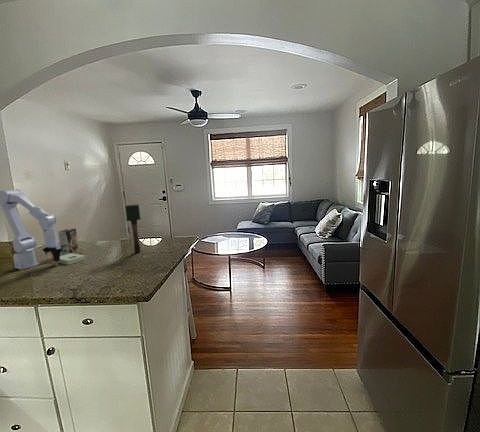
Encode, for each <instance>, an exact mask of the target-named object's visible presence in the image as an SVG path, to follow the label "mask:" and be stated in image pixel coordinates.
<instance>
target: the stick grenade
mask: <svg viewBox="0 0 480 432" xmlns="http://www.w3.org/2000/svg"><path fill="white" fill-rule="evenodd" d="M124 209H125V214H126V221H127V222H130V223H131V229H132V230H131V231H132V234H133V248H134V249H133V250H134V253H135V254H139V253H141V246H140V242H139V234H138V233H139V232H138V221H140V220H141V219H142V217H141V211H140V205H139V204H129V205H125V208H124Z"/></svg>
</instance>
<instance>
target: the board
mask: <svg viewBox="0 0 480 432" xmlns="http://www.w3.org/2000/svg"><path fill="white" fill-rule="evenodd" d="M86 258H87V257H86V255H84V254H83V255H82V254H78V253H76V254H73V253H70V254H66V255H62V254H61V255H60V261H59V262H58V264H62V265H67V266H69V265H73V264H76V263H79V262H83V261H86Z"/></svg>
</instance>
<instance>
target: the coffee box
mask: <svg viewBox="0 0 480 432" xmlns="http://www.w3.org/2000/svg"><path fill="white" fill-rule="evenodd" d="M57 234H58V240H59V241H58V242H59V245H61V248H62V250H61V253H60V255H61V256H62V255H66V254H70V253H73V254H78V253H80V247H79V242H78V235H77V228H65V229H62V230H61V231H58V232H57Z"/></svg>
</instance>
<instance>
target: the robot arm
mask: <svg viewBox="0 0 480 432" xmlns="http://www.w3.org/2000/svg"><path fill="white" fill-rule="evenodd" d="M18 204H19V205H21V206H22V207H24V209H27V210H28V211H29V215H31V216H32V217H33V218H34V219H36V220H37V221H38V222H37V223H38V225H39V226H40V229H41V230H42V233H43V234H42V235H43V240H44V243H42V252H43V253H45V255H46V256H47V252H49V251H51V253H52V255H53V257H54V260H55V261H59V259H60V256H61V250H62V248H61V245H60V243H58V237H57V232H56V223H57V217H56V216H55V215H54V214H51V213H50V214H49V213H48V212H46V211H45V210H44V209H43V208H42V207H41V206H35V204H33V203H32V202H31V201H30V200H29V199H28V198H27V197H26V196H25V192H23V191H21V190H20V189H9V190H0V206H1V209H2V212H3V214H4V216H5V218H6V220H7V222H8V224H9V226H10V229H11V231H12V233H13V235H14V237H13V239H12V240H11V243H12V248H13V250H14V251H15V252H16V253H14V254H13V255H12V257H13V262H14V269H18V270H25V269H28V268H32V267H36V266H39V265H40V262H39V263H38V262H37V259H36V254H35V253H36V252H35V250H36V247H37V240H36V239H35V238H34V237H33V235H32V234H30V233H27V231H26V229H25V227H24V225H23V223H22V222H23V221H22V220H21V218H20V216H19V214H18V211H17V210H16V206H17V205H18Z"/></svg>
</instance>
